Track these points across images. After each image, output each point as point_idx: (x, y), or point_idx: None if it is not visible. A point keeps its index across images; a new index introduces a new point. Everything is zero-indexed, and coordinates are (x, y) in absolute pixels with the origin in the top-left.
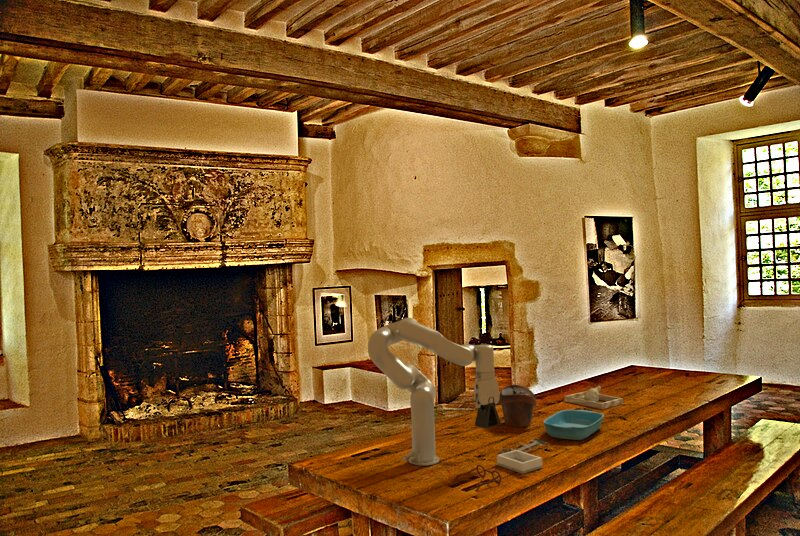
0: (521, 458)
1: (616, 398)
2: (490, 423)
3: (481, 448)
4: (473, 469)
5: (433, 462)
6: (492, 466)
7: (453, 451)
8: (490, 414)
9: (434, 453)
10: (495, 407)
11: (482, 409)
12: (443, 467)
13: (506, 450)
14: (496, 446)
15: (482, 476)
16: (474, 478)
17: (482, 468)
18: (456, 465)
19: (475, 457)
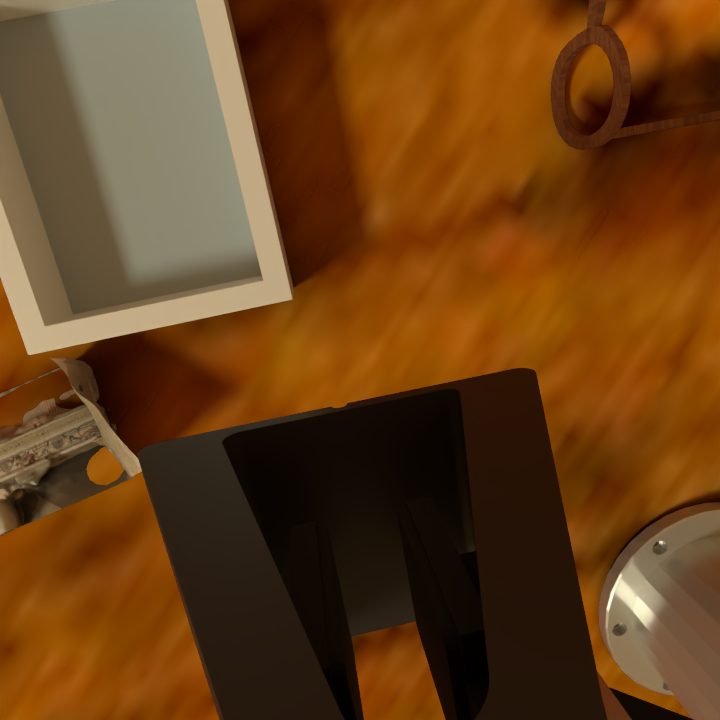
0: (48, 254)
1: None
2: None
3: (189, 683)
4: (648, 123)
5: (703, 511)
6: (347, 276)
7: (409, 697)
8: (339, 615)
9: (696, 584)
10: (215, 691)
11: (668, 716)
12: (667, 428)
13: (102, 436)
14: (54, 683)
15: (559, 92)
16: (634, 89)
17: (610, 49)
18: (567, 425)
19: None
